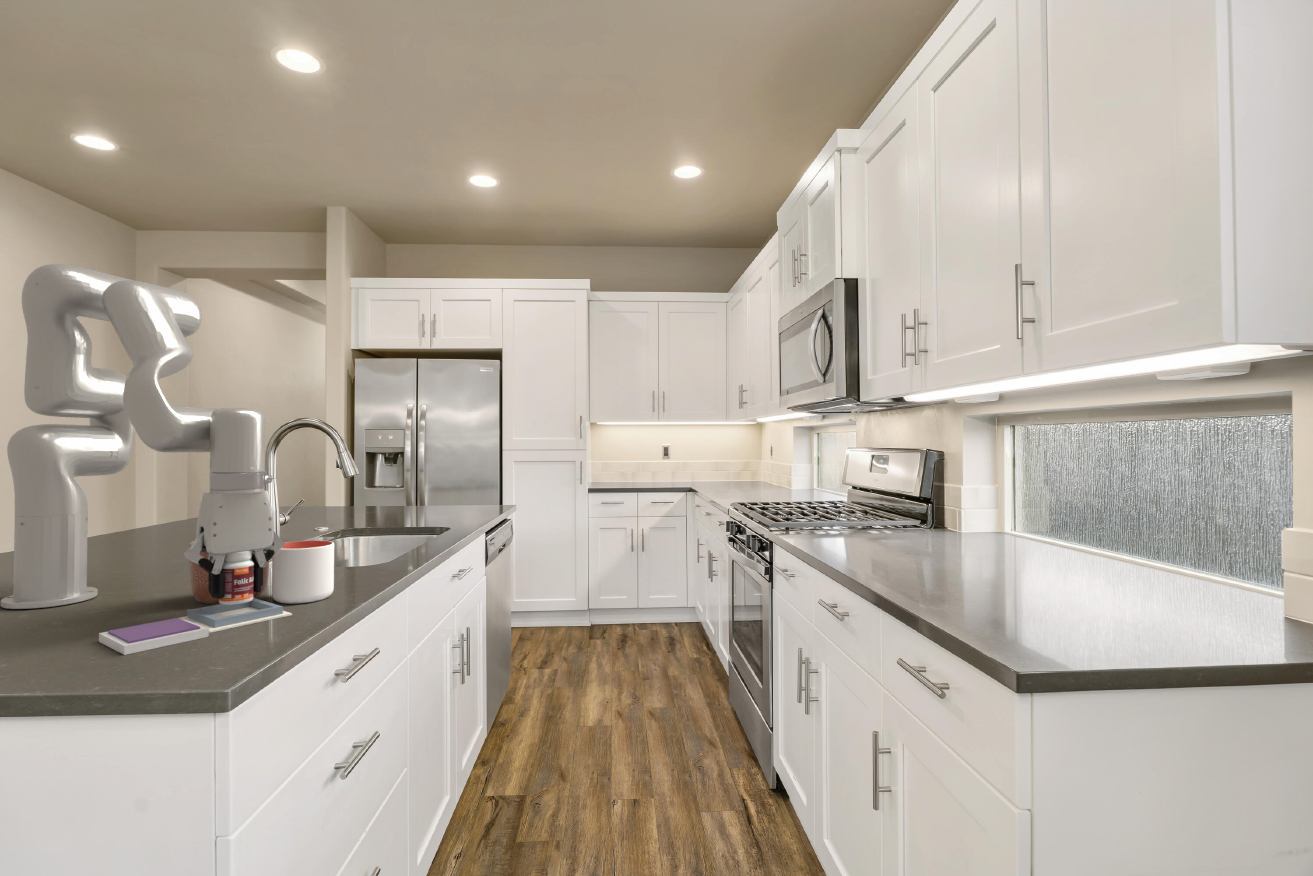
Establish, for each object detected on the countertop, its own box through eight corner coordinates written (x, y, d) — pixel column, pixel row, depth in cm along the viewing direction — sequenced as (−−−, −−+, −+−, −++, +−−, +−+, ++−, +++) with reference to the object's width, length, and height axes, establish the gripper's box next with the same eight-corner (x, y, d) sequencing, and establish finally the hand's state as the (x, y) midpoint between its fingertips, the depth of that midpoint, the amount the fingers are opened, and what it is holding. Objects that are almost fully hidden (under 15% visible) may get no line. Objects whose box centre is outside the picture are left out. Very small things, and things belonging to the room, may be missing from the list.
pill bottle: (236, 606, 102) (237, 553, 102) (211, 604, 103) (212, 552, 103) (260, 598, 107) (261, 548, 107) (236, 597, 108) (237, 547, 108)
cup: (273, 595, 120) (274, 542, 120) (333, 590, 125) (334, 539, 125) (269, 608, 111) (270, 550, 111) (333, 601, 116) (334, 546, 116)
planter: (192, 612, 108) (193, 547, 108) (184, 598, 117) (185, 538, 117) (276, 600, 116) (276, 540, 116) (263, 588, 125) (263, 533, 125)
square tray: (177, 619, 103) (177, 610, 103) (257, 604, 113) (257, 596, 113) (210, 632, 96) (210, 622, 96) (292, 615, 106) (292, 606, 106)
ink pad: (98, 641, 92) (99, 631, 92) (180, 625, 100) (180, 615, 100) (124, 655, 86) (124, 643, 86) (208, 636, 94) (208, 626, 94)
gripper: (279, 480, 114) (279, 582, 114) (166, 485, 100) (165, 601, 100) (301, 481, 110) (300, 587, 110) (186, 487, 96) (185, 608, 96)
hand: (236, 593), depth 105 cm, fingers closed on pill bottle, 4 cm apart
